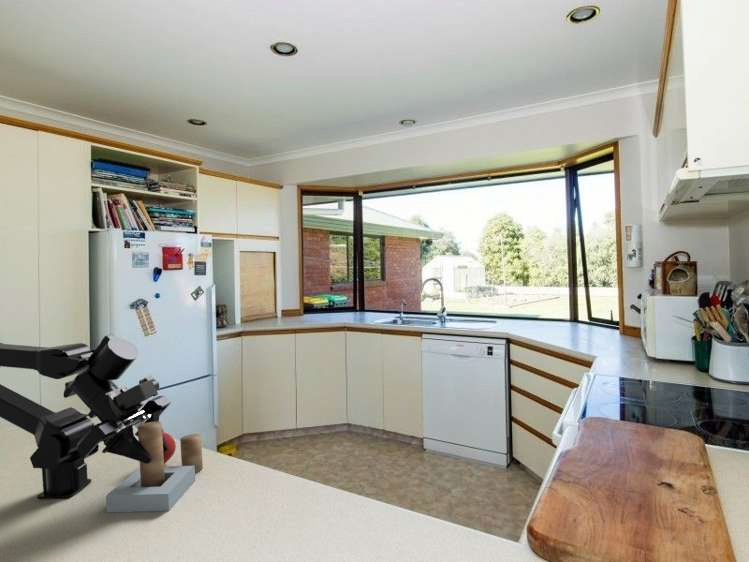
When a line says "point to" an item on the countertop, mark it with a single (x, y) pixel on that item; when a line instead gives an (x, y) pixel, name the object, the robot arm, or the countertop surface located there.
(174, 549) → the countertop surface
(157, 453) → the walnut peg long
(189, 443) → the walnut peg short
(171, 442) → the onion
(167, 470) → the collar block
